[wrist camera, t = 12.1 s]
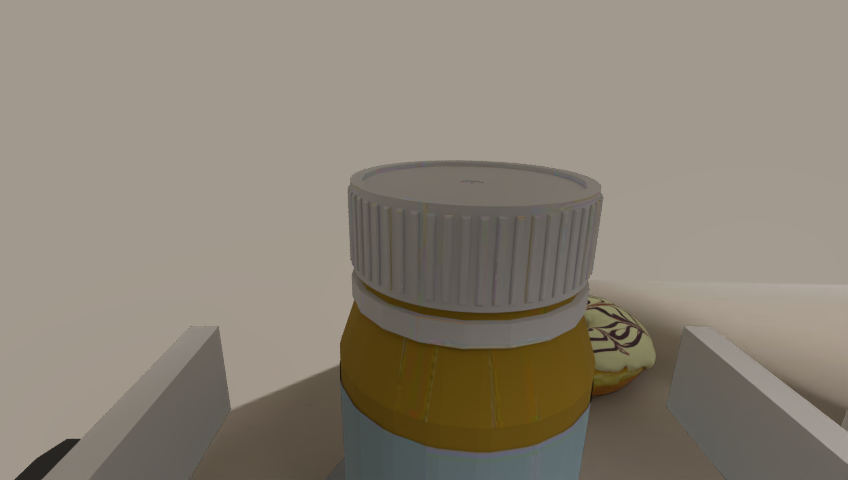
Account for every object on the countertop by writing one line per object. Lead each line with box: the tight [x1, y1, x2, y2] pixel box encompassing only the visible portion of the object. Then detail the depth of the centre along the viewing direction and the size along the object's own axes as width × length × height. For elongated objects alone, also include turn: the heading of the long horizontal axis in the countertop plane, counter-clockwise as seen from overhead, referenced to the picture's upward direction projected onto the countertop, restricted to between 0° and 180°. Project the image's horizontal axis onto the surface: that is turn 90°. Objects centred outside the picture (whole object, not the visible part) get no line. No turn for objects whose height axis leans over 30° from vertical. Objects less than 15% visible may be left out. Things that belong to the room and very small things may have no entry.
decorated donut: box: [584, 295, 656, 396], centre depth 31 cm, size 10×11×4 cm
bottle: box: [340, 161, 603, 480], centre depth 13 cm, size 7×7×15 cm
